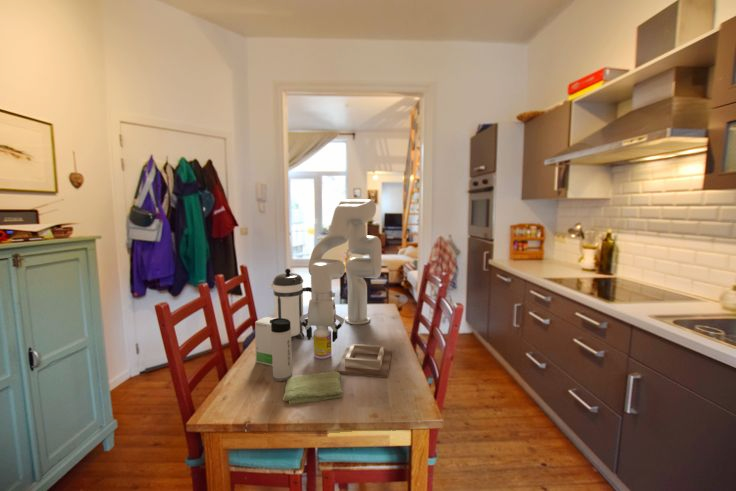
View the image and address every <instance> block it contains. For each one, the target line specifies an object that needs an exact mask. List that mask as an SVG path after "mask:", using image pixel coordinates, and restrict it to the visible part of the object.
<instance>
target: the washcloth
mask: <svg viewBox="0 0 736 491" xmlns="http://www.w3.org/2000/svg"><path fill="white" fill-rule="evenodd" d="M341 377H342V376H341V374H339V373H338V372H337V371H335V370H334V371H333V370H332V371H329V372H318V373H311V374H304V375H302V374H301V375H294V376H292V377H291V378H289V379H288V380H286V384H285V388H284V394H283V401H285V402H288V405H297V404H305V403H311V402H320V401H326V400H334V399H340V398H341V397H343V395H344V391H343V388H342V384H341V381H342V380H341Z"/></svg>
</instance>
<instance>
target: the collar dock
mask: <svg viewBox="0 0 736 491" xmlns="http://www.w3.org/2000/svg"><path fill="white" fill-rule="evenodd" d="M392 354H393V350H386V349H385V346H384V345H377V344H375V345H374V344H360V343H359V344H358V343H352V344H351V345H350V346H349V347H345V350H344V352H343V354H342V356H341V358H340V360H339V362H338V364H337V365H336V368H335V369H334V371H337V372H338V373H339V374H340V375H341V374H342V375H351V376H352V375H353V376H354V375H355V376H365V377H366V376H367V377H376V378H377V377H378V378H388V376H389V370H390V365H391V360H392Z"/></svg>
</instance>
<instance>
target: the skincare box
mask: <svg viewBox="0 0 736 491" xmlns="http://www.w3.org/2000/svg"><path fill="white" fill-rule="evenodd" d="M273 319H276V318H275V317H270V316H263V318H260V319H258V320H256V321H255V322H254V324H255V325H254V326H255V328H254V330H255V331H254V332H255V342H254V343H255V363H258V364H262V365H267V366H271V367H273V362H272V338H271V324H270V320H273Z"/></svg>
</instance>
